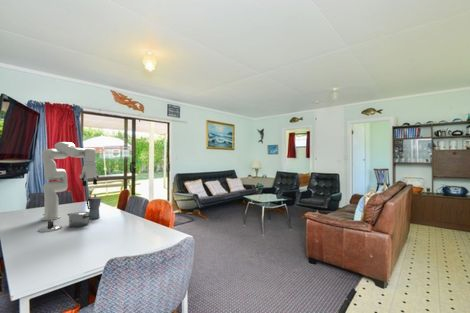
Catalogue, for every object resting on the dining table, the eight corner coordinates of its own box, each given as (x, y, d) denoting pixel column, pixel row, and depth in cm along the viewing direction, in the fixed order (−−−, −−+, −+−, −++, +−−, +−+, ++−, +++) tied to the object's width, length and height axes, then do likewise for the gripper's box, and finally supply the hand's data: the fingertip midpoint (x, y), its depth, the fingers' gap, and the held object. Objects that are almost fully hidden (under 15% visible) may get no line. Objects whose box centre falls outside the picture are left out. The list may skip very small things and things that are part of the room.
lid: (33, 231, 165) (33, 222, 165) (54, 225, 178) (54, 217, 178) (46, 233, 160) (46, 224, 160) (66, 227, 174) (66, 219, 174)
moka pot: (104, 216, 207) (104, 193, 207) (92, 220, 191) (92, 196, 191) (94, 215, 208) (95, 193, 208) (81, 220, 192) (82, 196, 192)
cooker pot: (61, 226, 176) (61, 214, 176) (77, 221, 189) (77, 210, 189) (81, 228, 170) (81, 216, 170) (96, 224, 182) (96, 212, 182)
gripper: (95, 163, 193) (95, 183, 192) (76, 164, 176) (76, 186, 176) (102, 163, 191) (102, 184, 190) (83, 164, 174) (83, 186, 174)
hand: (89, 185), depth 183 cm, fingers open, 9 cm apart
